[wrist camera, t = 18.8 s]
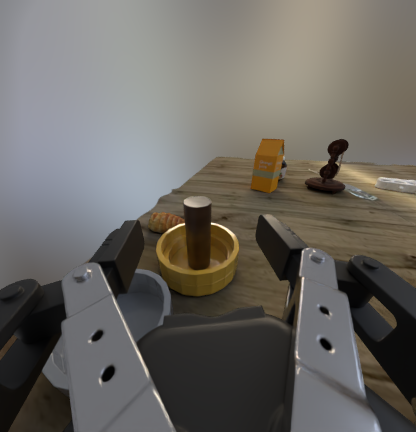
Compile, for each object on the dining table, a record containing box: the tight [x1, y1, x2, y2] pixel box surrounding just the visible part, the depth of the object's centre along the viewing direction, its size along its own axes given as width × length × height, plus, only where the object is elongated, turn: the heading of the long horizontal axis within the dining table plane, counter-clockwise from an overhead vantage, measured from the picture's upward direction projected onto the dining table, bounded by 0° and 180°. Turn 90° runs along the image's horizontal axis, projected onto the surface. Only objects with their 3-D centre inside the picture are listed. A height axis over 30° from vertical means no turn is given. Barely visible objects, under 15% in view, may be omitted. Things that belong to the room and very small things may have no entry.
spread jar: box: [278, 156, 287, 181], centre depth 82 cm, size 12×11×12 cm
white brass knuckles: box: [375, 177, 416, 193], centre depth 71 cm, size 3×18×15 cm
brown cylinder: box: [183, 196, 211, 270], centre depth 28 cm, size 4×4×13 cm
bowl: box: [156, 222, 239, 296], centre depth 30 cm, size 15×15×6 cm
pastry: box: [148, 212, 185, 233], centre depth 42 cm, size 9×7×4 cm
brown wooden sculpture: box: [305, 139, 348, 194], centre depth 66 cm, size 15×15×20 cm
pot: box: [42, 269, 174, 398], centre depth 19 cm, size 13×13×5 cm
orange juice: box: [251, 139, 284, 193], centre depth 66 cm, size 8×9×20 cm
